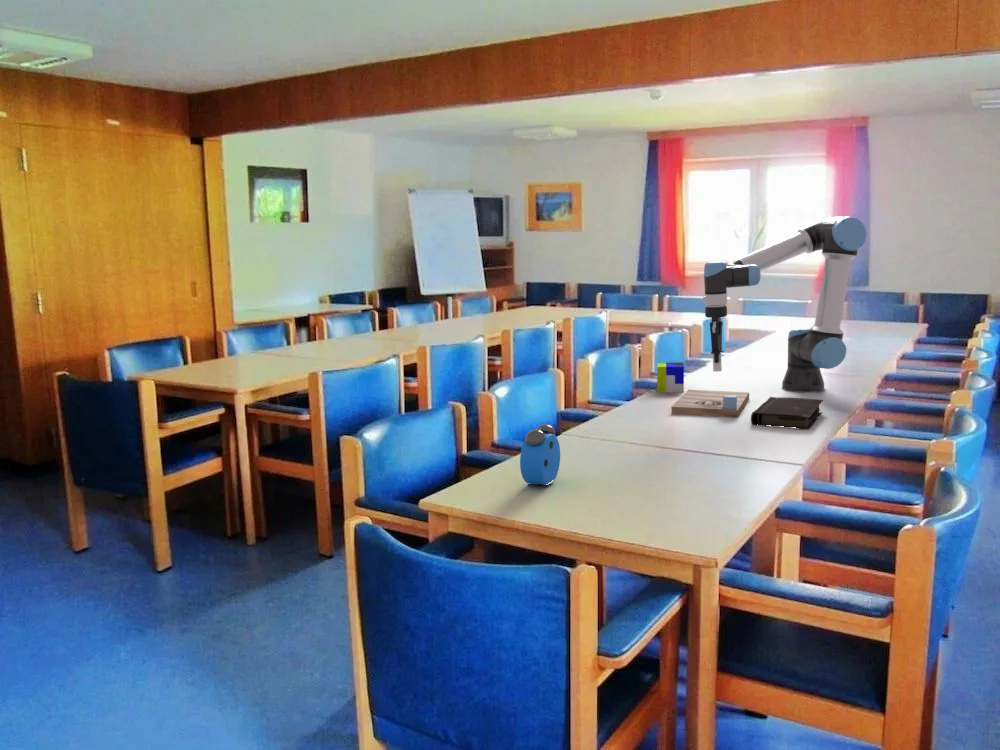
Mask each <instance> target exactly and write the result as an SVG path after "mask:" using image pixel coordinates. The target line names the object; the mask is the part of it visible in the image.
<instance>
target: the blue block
mask: <svg viewBox="0 0 1000 750" xmlns="http://www.w3.org/2000/svg"><path fill="white" fill-rule="evenodd" d="M723 407H724V409H737V397H736V395H723Z"/></svg>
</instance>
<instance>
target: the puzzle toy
mask: <svg viewBox="0 0 1000 750" xmlns="http://www.w3.org/2000/svg"><path fill="white" fill-rule="evenodd" d="M656 368H657V369H656V370H657V371H656V377H657V378H656V380H657V381H656V382H657V383H656V384H657V385H656V387H657V388H656V390H657V391H656V392H657V393H685V391H684V390H685V389H684V388H685V387H684V386H685V383H684V382H685V378H684V377H685V375H684V373H685V363H684V362H657V367H656Z"/></svg>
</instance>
